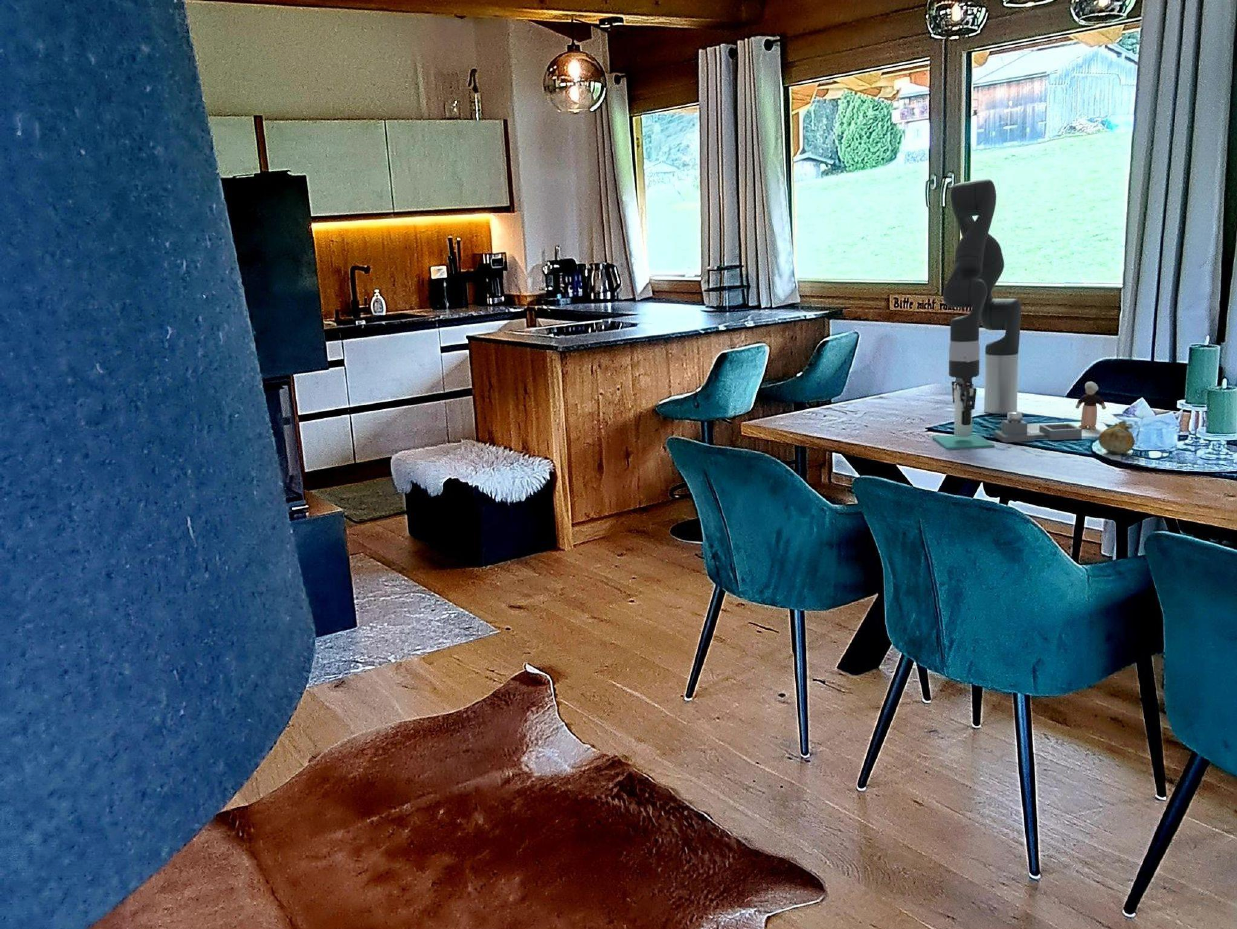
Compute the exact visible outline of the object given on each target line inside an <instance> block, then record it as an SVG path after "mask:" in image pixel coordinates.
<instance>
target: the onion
mask: <svg viewBox="0 0 1237 929" xmlns="http://www.w3.org/2000/svg"><path fill="white" fill-rule="evenodd" d="M1126 423H1127V421H1126V420H1122V421H1118V422H1117V423H1114V424H1112V425H1111V426H1109V427H1107V428H1106V429H1104V430H1103V431H1102V432H1101V433H1100V434H1099V435H1098V443H1099V446H1101V448H1102V450H1105V451H1106V452H1107V453H1110V454H1111V453H1113V455H1123V454H1127V453H1129V452H1130V451H1131V450H1132V449H1133V448H1134V446H1135V444H1136V440H1135V437H1134V436H1133V433H1132V432H1131V431H1130V430H1131V429H1133V428H1134V424H1133V423H1127V424H1126Z"/></svg>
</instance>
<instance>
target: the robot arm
mask: <svg viewBox="0 0 1237 929" xmlns="http://www.w3.org/2000/svg"><path fill="white" fill-rule="evenodd" d="M950 203H951V207H952V211H953V215H954V217H955V220H956V223H957V226H958V229H959V232H960V234H961V238H960V240H959V242H958V244H957V246H956V247H955V255H954V263H953V269H952V271H951V273H950V276H949V278H948V280H947V281H946V284H945V286H944V288H943V293H942V298H943V299H942V300H943V302H944V304H945V305H946V306H947V307H949V308H957V309H958V308H960V309H961V308H971V311H970V312H969V313H968V314H965V315H962V316H957V317H953V318H952V319H951V320H950V324H949V325H950V326H949V328H950V330H949V331H950V333H949V334H950V336H949V337H950V338H949V348H948V376H949V377H951V378H953V379H954V378H955V380H951V384H950V385H951V393H952V403H953V404H955V390H957V391H958V392H959V402H961V410H962V418H961V424H962V425H970V424H971V411H972V412H973V410H975V407H976V406H975V405H976V399H977V398H976V397H977V391H978V389H977V388H976V387H975V386H974V383H973V378H977V377H978V376H979V375H980V354H981V353H980V351H981V349H980V322H981V325H982V327H983V329H985V330H987V331H1005V332H1004V336H1003V337H1001V338H1000V339H998V340H995V341H991V342H988V343H987V344H986V345H985V351H984V352H985V354H984V396H983V398H984V402H983V403H984V404H983V411H984V412H986V413H990V414H1007V413H1008V412H1018V387H1019V386H1018V385H1019V380H1018V379H1019V351H1020V350H1019V349H1020V348H1019V347H1020V335H1021V322H1022V305H1021V302H1020V300H1019V299H1017V298H994V297H993V295H992V292H993V289H994V287H995V285H996V284H997V282H998V280H999V279H1000V278H1001V275H1002V273H1003V271H1004V268H1005V260H1004V255H1003V250H1002V247H1001V244H1000V243H999V242H998V241H997V239H996V238H995V237H994V236H993V235H991V234H990V233H989V232H990V229H991V225H992V221H993V218H994V213H995V210H996V205H997V191H996V187H995V184H994V182H993V180H991V179H988V178H983V179H976V180H970V181H969V180H968V181H963V182H959V183H956V184H954V185H953V186H952V188H951V189H950ZM973 217H976V219H974V218H973ZM962 397H965V399H963V398H962ZM968 402H969V405H967V403H968Z"/></svg>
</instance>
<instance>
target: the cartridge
mask: <svg viewBox="0 0 1237 929" xmlns="http://www.w3.org/2000/svg"><path fill="white" fill-rule="evenodd" d="M962 398H963V399H965V397H962ZM967 405H969V402H968V403H967ZM953 411H954V414H953V415H954V417H953V418H954V419H953V421H954V423H953V425H954V428H953V431H954V432H953V435H954V436H957V437H970V436H972V434H973V410H972V411H971V424H970V425H962V424H961V418H962V410H961V402H959V392H958V391H957V390H955V403H954V410H953Z"/></svg>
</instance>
